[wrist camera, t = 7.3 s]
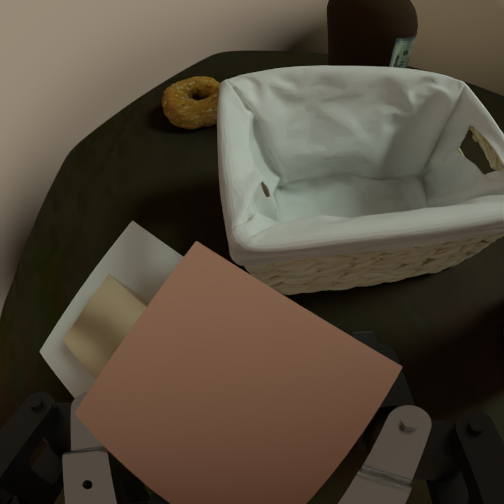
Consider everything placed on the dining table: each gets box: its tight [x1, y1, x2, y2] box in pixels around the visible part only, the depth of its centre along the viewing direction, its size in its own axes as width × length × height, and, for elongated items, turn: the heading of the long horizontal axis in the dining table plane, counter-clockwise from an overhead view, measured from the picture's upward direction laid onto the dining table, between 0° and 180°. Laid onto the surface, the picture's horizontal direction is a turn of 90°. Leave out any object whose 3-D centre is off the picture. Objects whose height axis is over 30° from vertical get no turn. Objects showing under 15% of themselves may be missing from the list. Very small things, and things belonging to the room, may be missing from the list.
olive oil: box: [327, 0, 418, 68], centre depth 27 cm, size 11×11×25 cm
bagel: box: [162, 76, 221, 130], centre depth 39 cm, size 10×11×5 cm
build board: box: [40, 221, 183, 398], centre depth 28 cm, size 20×20×1 cm
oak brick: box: [63, 274, 148, 379], centre depth 26 cm, size 8×8×5 cm
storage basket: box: [217, 66, 504, 295], centre depth 25 cm, size 24×16×15 cm
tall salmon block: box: [74, 241, 402, 504], centre depth 10 cm, size 5×5×10 cm
